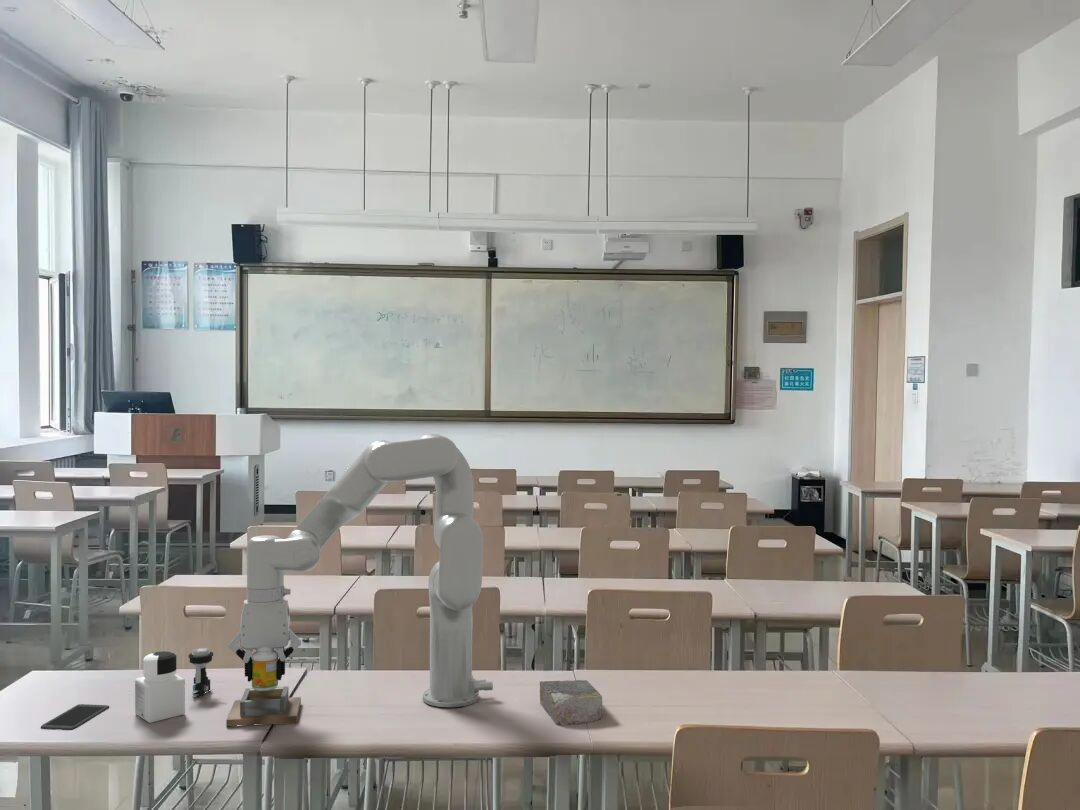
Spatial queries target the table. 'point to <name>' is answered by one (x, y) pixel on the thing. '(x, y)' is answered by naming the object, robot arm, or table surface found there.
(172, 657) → the container
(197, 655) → the push button
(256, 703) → the collar board
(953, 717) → the table surface
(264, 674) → the supplement bottle
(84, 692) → the table surface
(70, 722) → the cell phone
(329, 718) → the table surface
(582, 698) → the geological specimen
